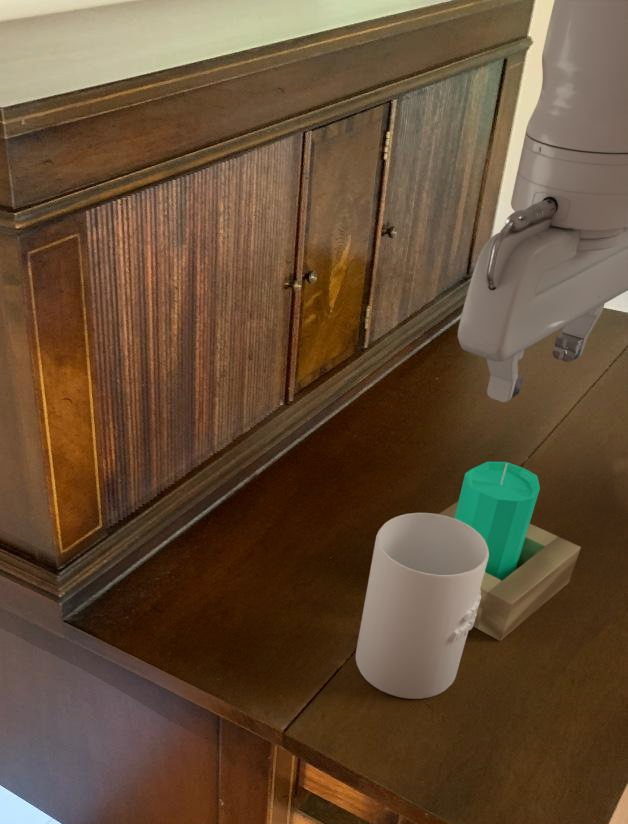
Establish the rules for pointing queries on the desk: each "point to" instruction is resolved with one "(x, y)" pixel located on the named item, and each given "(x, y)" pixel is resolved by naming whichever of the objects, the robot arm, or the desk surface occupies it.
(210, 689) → the desk surface
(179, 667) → the desk surface
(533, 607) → the frame
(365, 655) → the mug
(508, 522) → the candle
